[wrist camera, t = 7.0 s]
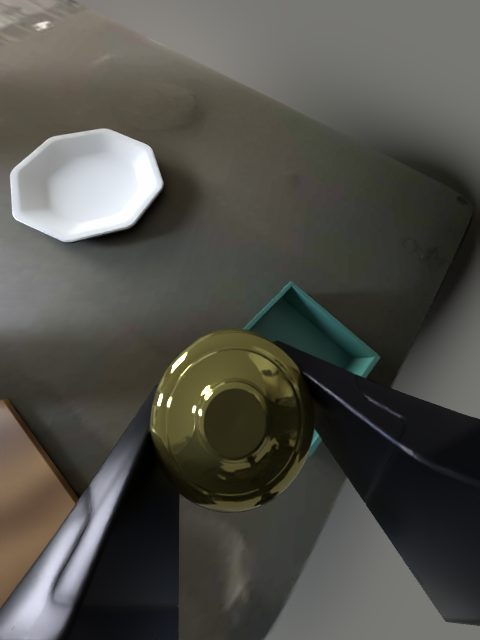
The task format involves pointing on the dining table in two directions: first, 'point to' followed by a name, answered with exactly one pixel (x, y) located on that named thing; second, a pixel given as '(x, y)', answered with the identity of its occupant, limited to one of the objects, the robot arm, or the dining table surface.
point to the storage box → (313, 334)
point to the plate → (85, 185)
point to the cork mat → (26, 499)
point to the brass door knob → (232, 421)
